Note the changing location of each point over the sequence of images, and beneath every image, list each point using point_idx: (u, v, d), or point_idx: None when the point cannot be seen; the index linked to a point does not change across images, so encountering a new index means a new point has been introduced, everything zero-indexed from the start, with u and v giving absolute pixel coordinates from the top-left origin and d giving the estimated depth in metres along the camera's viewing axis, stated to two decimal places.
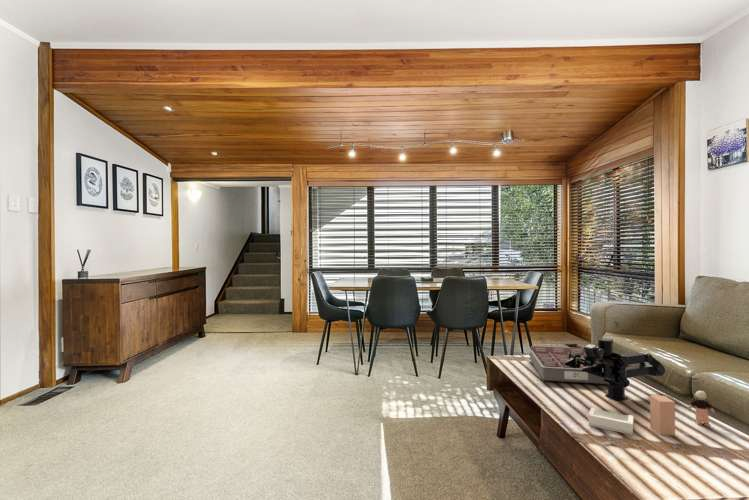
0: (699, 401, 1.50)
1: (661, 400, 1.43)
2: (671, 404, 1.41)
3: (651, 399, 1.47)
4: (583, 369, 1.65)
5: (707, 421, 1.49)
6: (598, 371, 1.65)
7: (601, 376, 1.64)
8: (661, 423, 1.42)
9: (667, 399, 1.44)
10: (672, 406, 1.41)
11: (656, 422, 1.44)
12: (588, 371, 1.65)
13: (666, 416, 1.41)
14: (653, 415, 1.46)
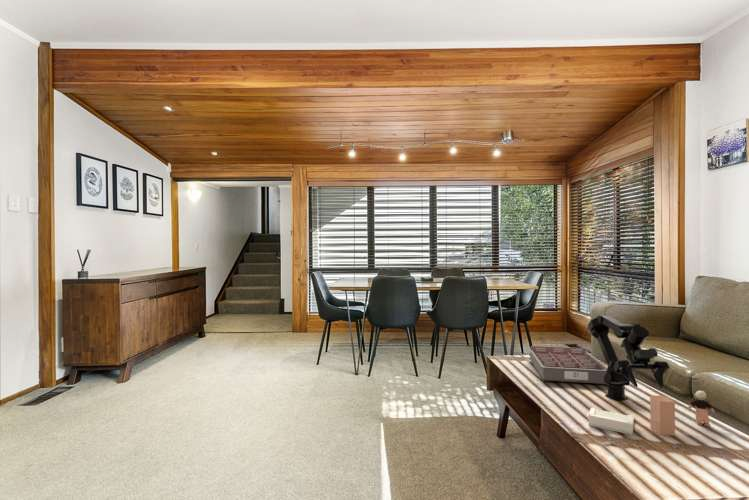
0: (699, 401, 1.50)
1: (661, 400, 1.43)
2: (671, 404, 1.41)
3: (651, 399, 1.47)
4: (662, 386, 1.52)
5: (707, 421, 1.49)
6: None
7: None
8: (661, 423, 1.42)
9: (667, 399, 1.44)
10: (672, 406, 1.41)
11: (656, 422, 1.44)
12: None
13: (666, 416, 1.41)
14: (653, 415, 1.46)
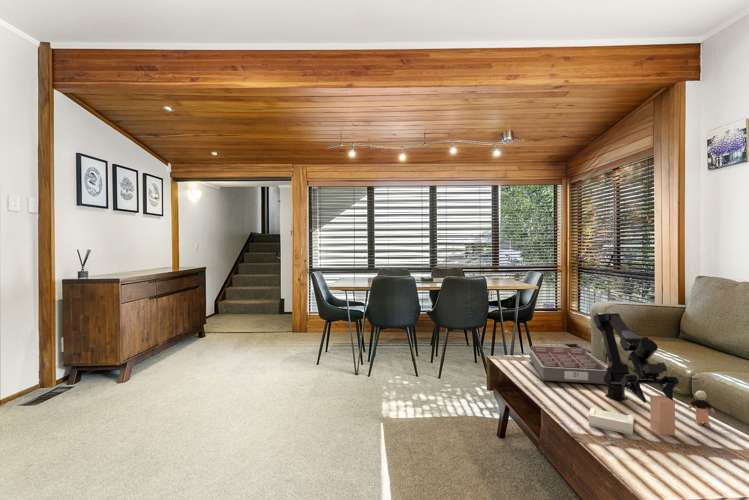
0: (699, 401, 1.50)
1: (661, 400, 1.43)
2: (671, 404, 1.41)
3: (651, 399, 1.47)
4: None
5: (707, 421, 1.49)
6: None
7: None
8: (661, 423, 1.42)
9: (667, 399, 1.44)
10: (672, 406, 1.41)
11: (656, 422, 1.44)
12: None
13: (666, 416, 1.41)
14: (653, 415, 1.46)
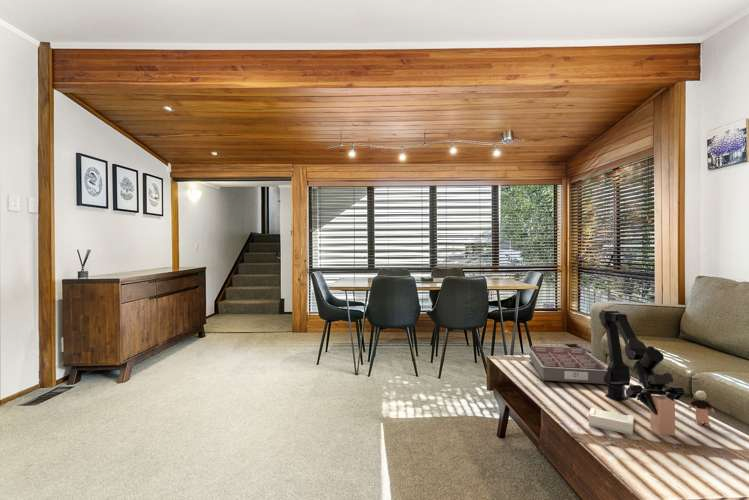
0: (699, 401, 1.50)
1: (661, 400, 1.43)
2: (671, 404, 1.41)
3: None
4: None
5: (707, 421, 1.49)
6: None
7: None
8: (661, 423, 1.42)
9: (667, 399, 1.44)
10: (672, 406, 1.41)
11: (656, 422, 1.44)
12: None
13: (666, 416, 1.41)
14: (653, 415, 1.46)
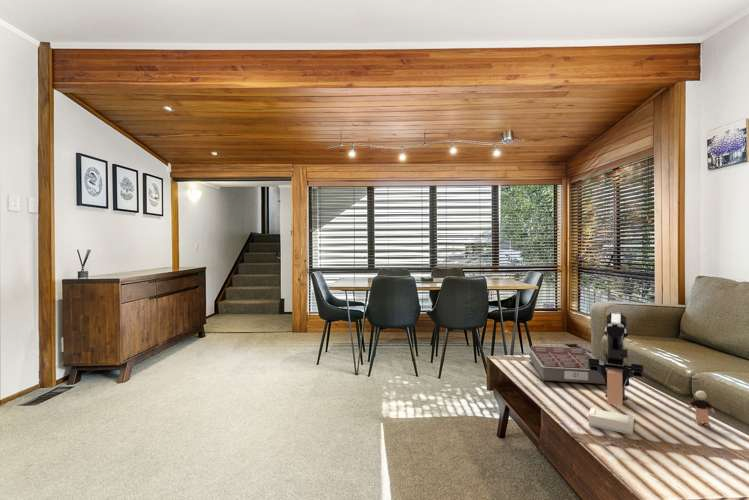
0: (699, 401, 1.50)
1: (610, 372, 1.54)
2: (618, 376, 1.51)
3: None
4: (623, 386, 1.52)
5: (707, 421, 1.49)
6: (629, 374, 1.55)
7: None
8: (609, 393, 1.53)
9: (618, 372, 1.53)
10: (620, 378, 1.51)
11: None
12: (625, 383, 1.54)
13: (613, 387, 1.52)
14: None
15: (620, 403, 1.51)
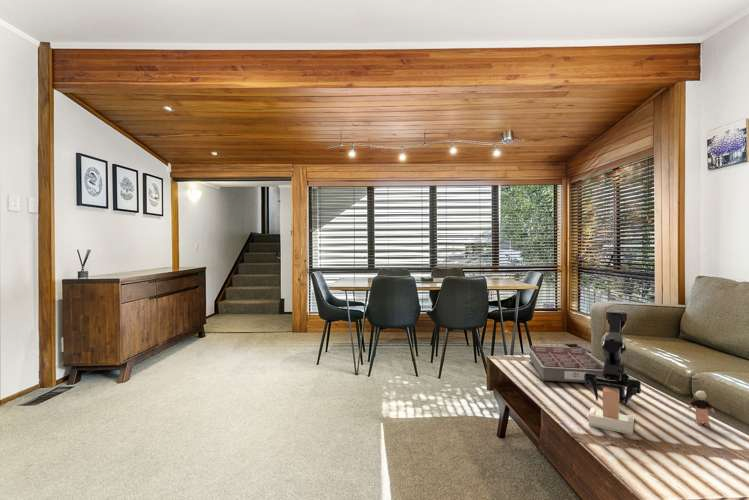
0: (699, 401, 1.50)
1: (606, 390, 1.50)
2: (614, 395, 1.47)
3: None
4: (625, 404, 1.47)
5: (707, 421, 1.49)
6: (632, 391, 1.50)
7: (636, 394, 1.50)
8: (604, 412, 1.49)
9: (615, 391, 1.49)
10: (616, 397, 1.47)
11: None
12: None
13: (609, 406, 1.48)
14: None
15: None
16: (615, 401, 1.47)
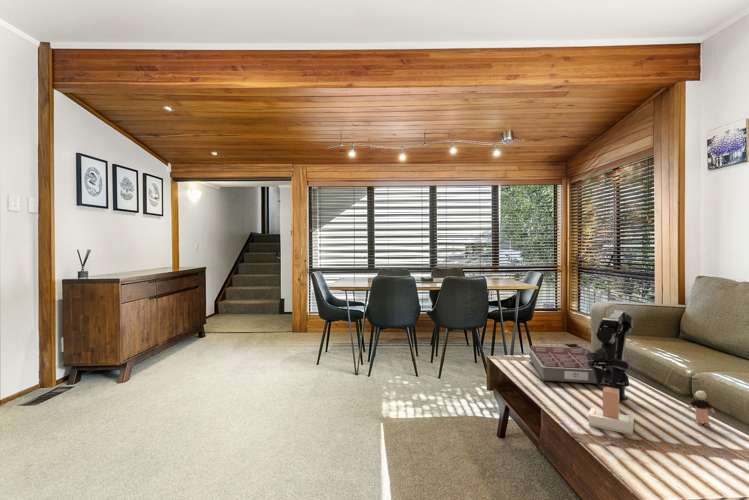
0: (699, 401, 1.50)
1: (606, 390, 1.50)
2: (614, 395, 1.47)
3: None
4: (613, 384, 1.58)
5: (707, 421, 1.49)
6: (619, 370, 1.58)
7: None
8: (604, 412, 1.49)
9: (615, 391, 1.49)
10: (616, 397, 1.47)
11: None
12: (616, 380, 1.58)
13: (609, 406, 1.48)
14: None
15: None
16: (615, 401, 1.47)
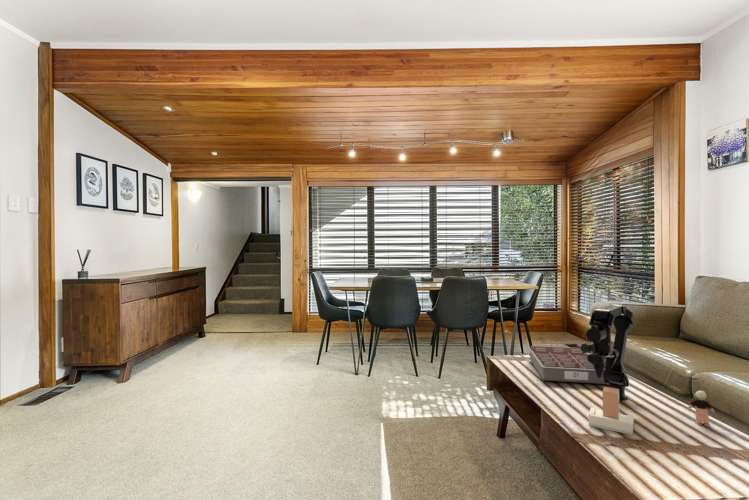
0: (699, 401, 1.50)
1: (606, 390, 1.50)
2: (614, 395, 1.47)
3: None
4: (599, 376, 1.65)
5: (707, 421, 1.49)
6: None
7: (602, 364, 1.61)
8: (604, 412, 1.49)
9: (615, 391, 1.49)
10: (616, 397, 1.47)
11: None
12: (600, 373, 1.64)
13: (609, 406, 1.48)
14: None
15: None
16: (615, 401, 1.47)
